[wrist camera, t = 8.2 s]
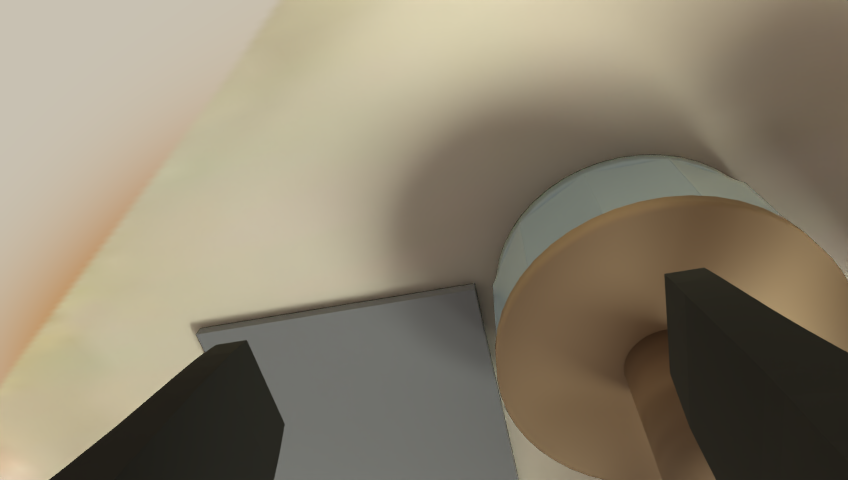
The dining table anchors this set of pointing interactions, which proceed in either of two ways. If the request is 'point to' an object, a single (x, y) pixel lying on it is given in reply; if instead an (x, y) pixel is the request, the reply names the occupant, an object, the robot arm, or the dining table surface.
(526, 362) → the lid
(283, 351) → the mat
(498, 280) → the bowl
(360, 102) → the dining table surface
